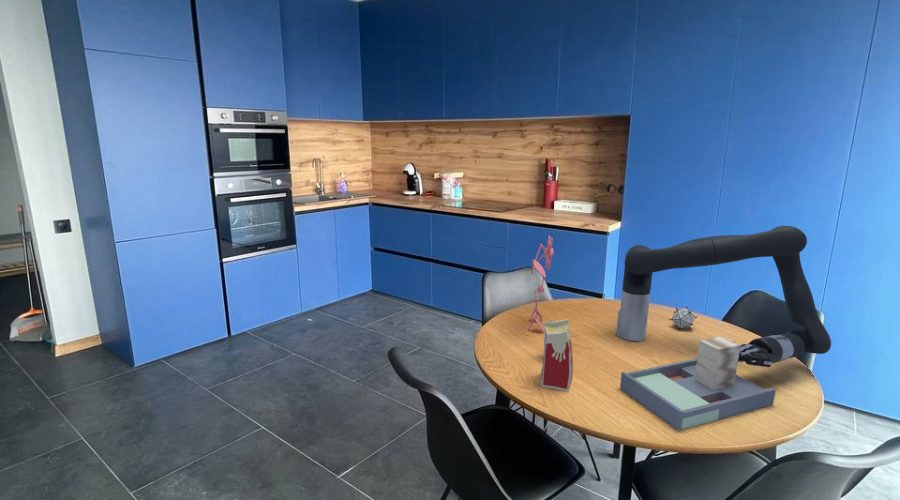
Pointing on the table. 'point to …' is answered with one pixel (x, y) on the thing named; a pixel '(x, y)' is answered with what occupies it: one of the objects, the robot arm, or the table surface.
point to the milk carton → (557, 357)
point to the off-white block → (717, 362)
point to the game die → (683, 318)
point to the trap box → (691, 395)
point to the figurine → (548, 255)
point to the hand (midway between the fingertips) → (727, 358)
